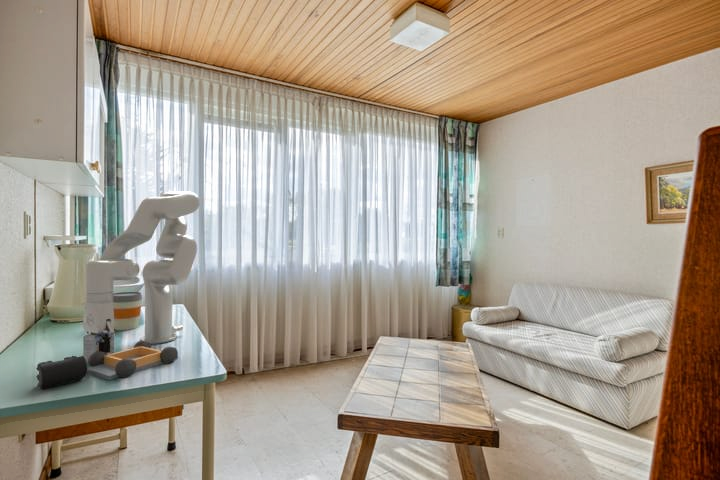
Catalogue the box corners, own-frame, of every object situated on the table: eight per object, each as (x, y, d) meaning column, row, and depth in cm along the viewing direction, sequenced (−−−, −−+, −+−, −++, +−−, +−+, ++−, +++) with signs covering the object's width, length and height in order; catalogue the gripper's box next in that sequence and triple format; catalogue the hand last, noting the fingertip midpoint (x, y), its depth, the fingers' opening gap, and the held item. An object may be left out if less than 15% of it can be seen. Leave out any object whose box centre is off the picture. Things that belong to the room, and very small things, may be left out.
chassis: (151, 352, 134) (151, 337, 133) (181, 359, 126) (181, 344, 126) (82, 371, 114) (82, 354, 114) (113, 381, 107) (113, 364, 107)
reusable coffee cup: (111, 332, 158) (111, 297, 158) (105, 327, 167) (106, 293, 167) (144, 328, 166) (145, 294, 166) (138, 322, 176) (138, 290, 176)
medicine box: (94, 363, 121) (94, 336, 121) (82, 362, 122) (82, 335, 122) (114, 355, 129) (115, 330, 129) (103, 354, 130) (104, 329, 130)
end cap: (42, 393, 98) (42, 367, 98) (34, 386, 103) (34, 361, 103) (87, 381, 106) (87, 358, 106) (78, 375, 111) (78, 352, 111)
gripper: (73, 296, 126) (72, 350, 126) (102, 301, 118) (102, 359, 118) (97, 293, 133) (96, 345, 133) (126, 298, 125) (126, 352, 125)
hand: (99, 351), depth 126 cm, fingers closed on medicine box, 5 cm apart
